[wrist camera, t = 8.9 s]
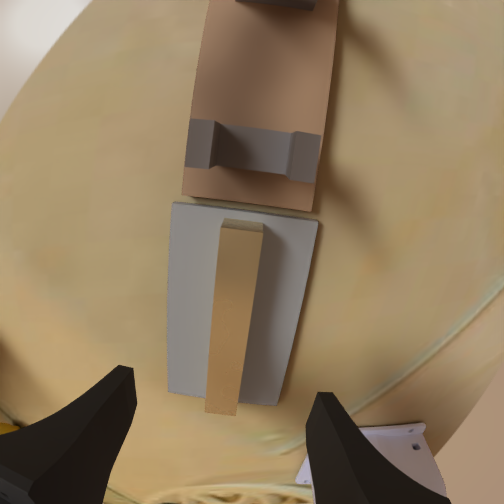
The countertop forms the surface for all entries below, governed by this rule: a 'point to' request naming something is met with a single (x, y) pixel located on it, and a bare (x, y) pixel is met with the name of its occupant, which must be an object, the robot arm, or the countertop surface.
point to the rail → (231, 312)
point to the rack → (261, 101)
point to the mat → (264, 304)
